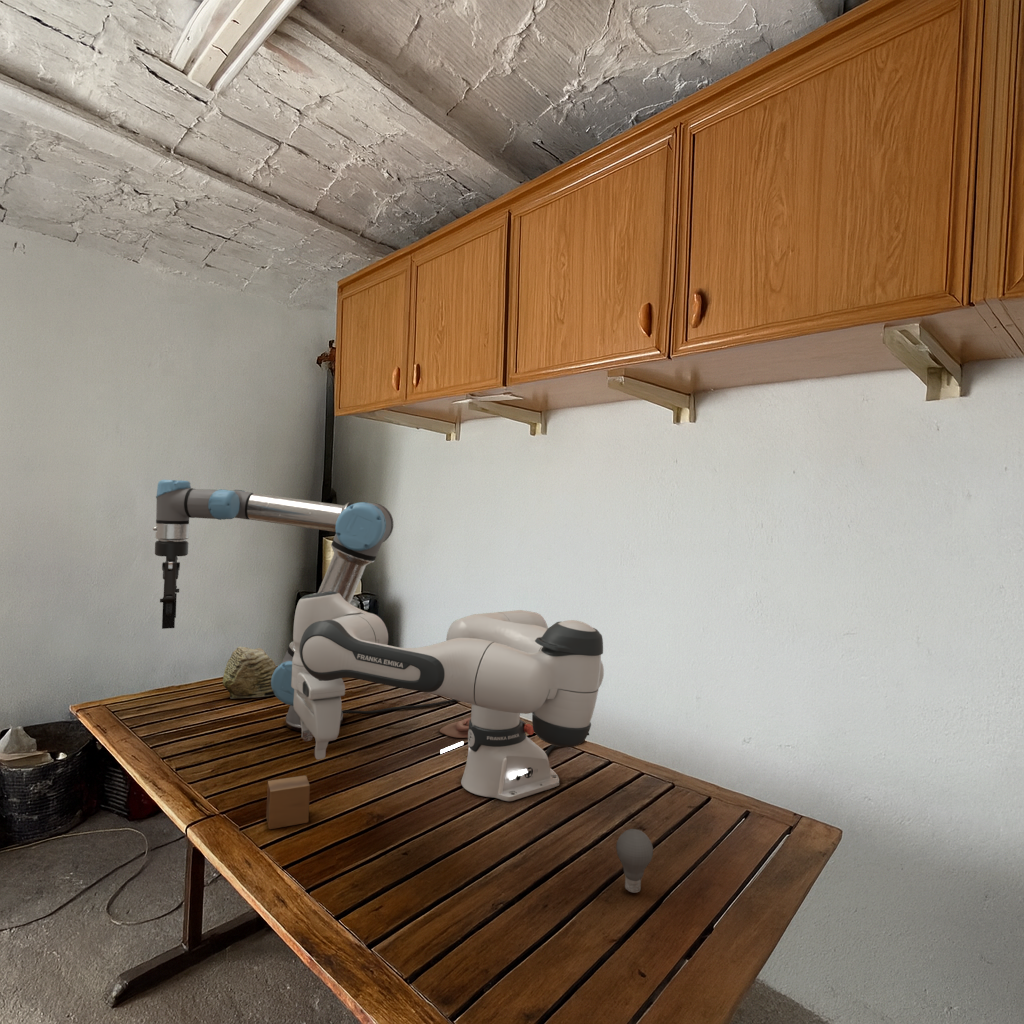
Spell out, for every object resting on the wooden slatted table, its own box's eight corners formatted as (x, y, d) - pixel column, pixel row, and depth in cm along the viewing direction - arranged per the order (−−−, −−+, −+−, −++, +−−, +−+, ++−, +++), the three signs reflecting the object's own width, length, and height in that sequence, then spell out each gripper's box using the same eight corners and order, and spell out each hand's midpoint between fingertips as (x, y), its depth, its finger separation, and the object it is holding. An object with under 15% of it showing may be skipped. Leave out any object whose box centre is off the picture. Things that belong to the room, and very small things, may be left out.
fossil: (218, 695, 195) (220, 647, 195) (278, 685, 208) (279, 640, 207) (228, 703, 189) (230, 653, 188) (289, 692, 201) (290, 645, 201)
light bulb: (610, 879, 108) (613, 822, 108) (644, 879, 109) (647, 822, 109) (619, 902, 102) (622, 840, 102) (655, 901, 103) (658, 840, 103)
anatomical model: (436, 720, 170) (448, 707, 182) (435, 735, 170) (448, 721, 182) (483, 726, 168) (493, 712, 179) (483, 741, 168) (493, 726, 179)
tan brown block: (266, 817, 124) (267, 780, 124) (304, 810, 128) (305, 775, 127) (269, 829, 120) (270, 791, 120) (308, 822, 123) (309, 785, 123)
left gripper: (157, 536, 171) (154, 614, 172) (152, 544, 149) (149, 633, 149) (188, 536, 175) (186, 613, 175) (188, 544, 152) (185, 632, 153)
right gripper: (286, 664, 128) (284, 732, 128) (312, 693, 110) (309, 772, 110) (318, 661, 131) (316, 727, 131) (348, 689, 113) (345, 765, 114)
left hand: (169, 623), depth 162 cm, fingers open, 13 cm apart
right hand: (313, 748), depth 121 cm, fingers open, 8 cm apart
